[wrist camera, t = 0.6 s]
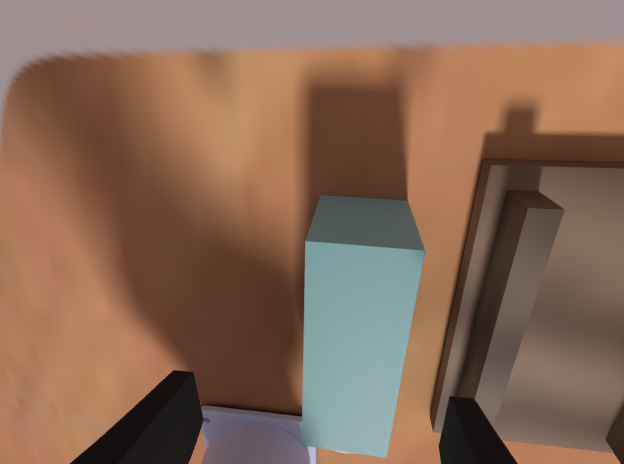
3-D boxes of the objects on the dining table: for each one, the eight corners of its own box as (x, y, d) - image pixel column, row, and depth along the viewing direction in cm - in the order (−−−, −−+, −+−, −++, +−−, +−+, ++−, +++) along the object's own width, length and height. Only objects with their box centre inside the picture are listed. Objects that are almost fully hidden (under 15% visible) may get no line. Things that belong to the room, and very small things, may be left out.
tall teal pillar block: (379, 387, 21) (383, 473, 17) (314, 379, 22) (301, 460, 17) (407, 199, 16) (425, 250, 11) (320, 193, 16) (305, 241, 12)
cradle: (626, 438, 20) (667, 495, 17) (430, 416, 21) (439, 467, 19) (785, 166, 13) (893, 191, 11) (483, 159, 15) (510, 179, 12)
